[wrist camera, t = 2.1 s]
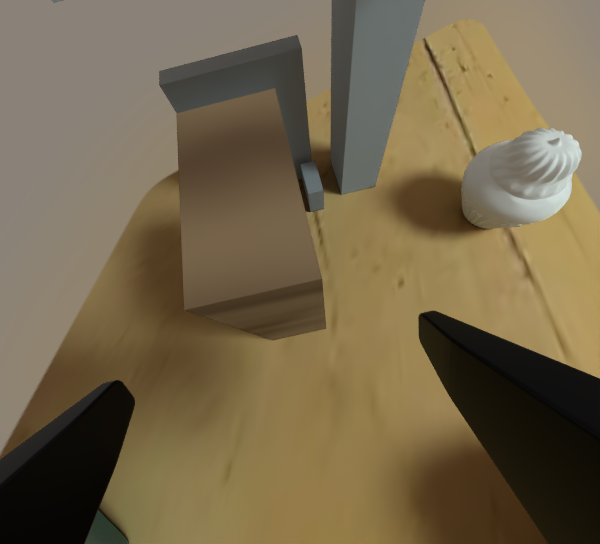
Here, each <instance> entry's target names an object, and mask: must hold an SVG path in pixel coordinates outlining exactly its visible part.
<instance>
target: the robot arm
mask: <svg viewBox="0 0 600 544" xmlns="http://www.w3.org/2000/svg"><path fill="white" fill-rule="evenodd" d="M419 339H420V342H421V344H422V346H423V348H424V350H425V352H426V354H427V356H428V358H429V359H430V361H431V363H432V365H433V367H434V369H435V371H436V373H437V375H438V376H439V378H440V380H441V382H442V384H443V386H444V388H445V389H446V391H447V393H448V394H449V396H450V398H451V399H452V401H453V402H454V404H455V405H456V407H457V408H458V410H459V411H460V413H461V414H462V416H463V417H464V419H465V420H466V422H467V423H468V425H469V426H470V428H471V429H472V431H473V432H474V434H475V435H476V437H477V438H478V440H479V441H480V443H481V444H482V446H483V447H484V449H485V450H486V452H487V453H488V455H489V456H490V457H491V459H492V460H493V462H494V463H495V465H496V466H497V468H498V469H499V471H500V472H501V474H502V475H503V477H504V478H505V480H506V481H507V483H508V484H509V486H510V487H511V489H512V490H513V492H514V493H515V495H516V496H517V498H518V499H519V501H520V502H521V504H522V505H523V507H524V508H525V510H526V511H527V513H528V514H529V516H530V517H531V519H532V520H533V522H534V523H535V525H536V526H537V528H538V529H539V531H540V532H541V534H542V535H543V537H544V538H545V540H546V541H547V542H548V544H600V378H597V377H595V376H592V375H590V374H587V373H585V372H583V371H580V370H578V369H575V368H573V367H570V366H568V365H566V364H563V363H561V362H558V361H556V360H553V359H551V358H549V357H546V356H544V355H541V354H539V353H536V352H534V351H532V350H529V349H527V348H524V347H522V346H519V345H517V344H515V343H512V342H510V341H507V340H505V339H502V338H500V337H498V336H495V335H493V334H490V333H488V332H485V331H483V330H481V329H478V328H476V327H473V326H471V325H468V324H466V323H464V322H461V321H459V320H456V319H454V318H451V317H449V316H447V315H444V314H442V313H439V312H437V311H429V312H424V313H421V314H420V315H419ZM134 406H135V399H134V397H133V395H132V394H131V393H130V391H129V390H128V389H127V387H126V386H125V385H124V384H123V382H121V381H119V380H115V381H110V382H106V383H103V384H102V385H100V386H99V387H98V388H96V389H95V390H93V391H92V392H91V393H89V394H88V395H87V396H85V397H84V398H83V399H81V400H80V401H79V402H77V403H76V404H75V405H73V406H72V407H71V408H69V409H68V410H66V411H65V412H64V413H62V414H61V415H60V416H58V417H57V418H56V419H54V420H53V421H52V422H50V423H49V424H48V425H46V426H45V427H44V428H42V429H41V430H39V431H38V432H37V433H35V434H34V435H33V436H31V437H30V438H29V439H27V440H26V441H25V442H23V443H22V444H21V445H19V446H18V447H17V448H15V449H14V450H12V451H11V452H10V453H8V454H7V455H6V456H4V457H3V458H2V459H0V544H85V542H86V539H87V537H88V534H89V532H90V529H91V527H92V524H93V522H94V519H95V517H96V514H97V512H98V509H99V507H100V504H101V502H102V499H103V497H104V494H105V492H106V489H107V487H108V484H109V482H110V479H111V477H112V474H113V472H114V469H115V466H116V464H117V461H118V458H119V455H120V452H121V448H122V445H123V442H124V439H125V435H126V432H127V429H128V426H129V422H130V419H131V416H132V413H133V409H134Z"/></svg>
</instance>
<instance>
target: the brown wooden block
mask: <svg viewBox="0 0 600 544" xmlns="http://www.w3.org/2000/svg"><path fill="white" fill-rule="evenodd" d="M177 138H178V164H179V191H180V217H181V243H182V269H183V296H184V310H185V311H188V312H191V313H194V314H197V315H200V316H203V317H206V318H209V319H212V320H215V321H218V322H221V323H224V324H226V325H229V326H232V327H235V328H238V329H241V330H244V331H247V332H250V333H253V334H256V335H259V336H262V337H265V338H268V339H271V340H277V339H281V338H286V337H290V336H295V335H299V334H304V333H308V332H313V331H318V330H322V329H326V321H325V309H324V297H323V285H322V277H321V273H320V269H319V264H318V260H317V256H316V252H315V248H314V244H313V240H312V236H311V232H310V228H309V224H308V220H307V216H306V212H305V208H304V204H303V200H302V196H301V192H300V188H299V184H298V179H297V175H296V171H295V167H294V163H293V159H292V155H291V151H290V147H289V143H288V139H287V135H286V131H285V127H284V123H283V119H282V115H281V111H280V107H279V103H278V99H277V94H276V90H275V88H274V89H270V90H266V91H262V92H258V93H254V94H250V95H246V96H242V97H239V98H235V99H231V100H227V101H223V102H219V103H215V104H211V105H207V106H203V107H199V108H196V109H192V110H188V111H184V112H180V113H177Z"/></svg>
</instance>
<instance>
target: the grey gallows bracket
mask: <svg viewBox="0 0 600 544" xmlns="http://www.w3.org/2000/svg"><path fill="white" fill-rule="evenodd" d="M52 1H53V2H54V3H55V2H58V1H62V0H52ZM424 2H425V0H332V38H331V43H332V44H331V151H330V160H331V163H332V166H333V169H334V173H335V176H336V179H337V182H338V185H339V188H340V192H341V194H345V193H350V192H354V191H358V190H362V189H366V188H370V187H375V185H376V181H377V177H378V174H379V170H380V166H381V163H382V159H383V155H384V151H385V148H386V144H387V140H388V137H389V133H390V129H391V125H392V122H393V118H394V114H395V110H396V107H397V103H398V99H399V96H400V92H401V88H402V84H403V81H404V77H405V73H406V69H407V66H408V62H409V58H410V55H411V51H412V47H413V43H414V39H415V35H416V32H417V28H418V25H419V21H420V17H421V13H422V10H423V6H424ZM159 80H160V81H159V85H160V87H161V88H162V90H163V92H164V93H165V95H166V96H167V98H168V100H169V101H170V103H171V105H172V106H173V108H174V110H175V111H176V113H180V112H184V111H188V110H192V109H196V108H199V107H203V106H207V105H211V104H215V103H219V102H223V101H227V100H231V99H235V98H239V97H242V96H246V95H250V94H254V93H258V92H262V91H266V90H270V89H274V88H275V90H276V94H277V99H278V103H279V107H280V111H281V115H282V119H283V123H284V127H285V131H286V135H287V139H288V143H289V147H290V151H291V155H292V159H293V163H294V167H295V171H296V175H297V179H298V180H301V179H303V185H304V189H305V193H306V196H307V200H308V204H309V208H310V212H312V211H316V210H320V209H324V193H323V187H322V184H321V180H320V177H319V173H318V170H317V166H316V163H315V161H311V151H310V140H309V128H308V117H307V105H306V94H305V83H304V72H303V60H302V48H301V45H300V42H299V39H298V36H297V35H295V36H292V37H288V38H284V39H280V40H277V41H272V42H269V43H265V44H261V45H258V46H253V47H250V48H246V49H242V50H238V51H235V52H231V53H227V54H223V55H219V56H215V57H212V58H208V59H204V60H200V61H197V62H193V63H189V64H185V65H181V66H178V67H174V68H170V69H166V70H162V71H160V72H159Z"/></svg>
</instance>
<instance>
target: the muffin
mask: <svg viewBox="0 0 600 544" xmlns="http://www.w3.org/2000/svg"><path fill="white" fill-rule="evenodd" d="M581 155H582V154H581V150H580V148H579V143H578V142H577V141H576V140H573V137H572V135H568V134H564V132H563V131H556V130H555V129H553V128H549V129H547V130H546V129H544V128H538V129H536V130H534V131H527V132H524V133H523V134H522V135H521V136H520V137H518V138H515V139H514V140H510V141H503V142H499V143H496V144H493V145H491V146H488V147H486V148H485V149H483V150H482V151H480V152H479V153H478V154H477V155H476V156H475V157H474V158H473V159H472V160H471V161H470V163H469V164H468V166H467V168H466V170H465V172H464V176H463V182H462V187H461V197H462V211H463V213H464V216H465V218H467V220H468V221H470V222H471V224H474V225H475V226H478V227H482V228H487V229H493V228H509V227H520V226H521V225H525V224H531V223H536V222H539V221H542V220H545V219H547V218H549V217H551V216H552V215H554V214H555V213H556V212H558V211H559V210H560V209H561V208H562V207H563V206H564V205H565V203H566V202H567V200H568V199H569V196H570V194H571V187H572V184H571V178H572V174H573V172H574V171H575V170H576V169H577V167H578V164H579V162H580V160H581Z"/></svg>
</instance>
